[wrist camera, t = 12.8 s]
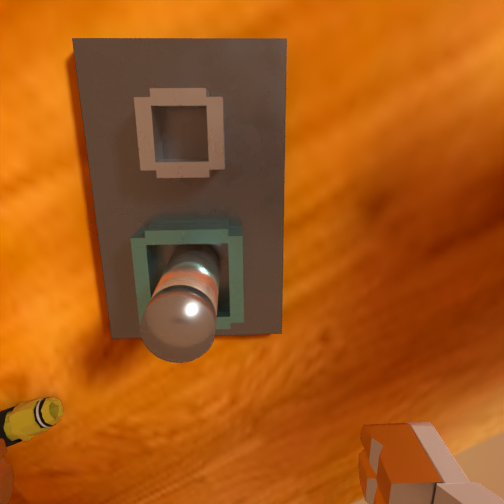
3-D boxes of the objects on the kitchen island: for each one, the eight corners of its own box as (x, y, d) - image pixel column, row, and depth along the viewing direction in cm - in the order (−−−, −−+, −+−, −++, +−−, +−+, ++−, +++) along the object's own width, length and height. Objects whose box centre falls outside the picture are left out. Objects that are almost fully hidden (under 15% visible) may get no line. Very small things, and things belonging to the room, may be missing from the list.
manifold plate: (283, 43, 27) (293, 27, 23) (279, 324, 34) (286, 353, 30) (80, 43, 27) (51, 26, 22) (116, 329, 33) (99, 359, 29)
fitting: (219, 242, 30) (213, 294, 20) (221, 290, 31) (216, 361, 22) (167, 243, 30) (136, 296, 20) (170, 291, 31) (143, 363, 21)
